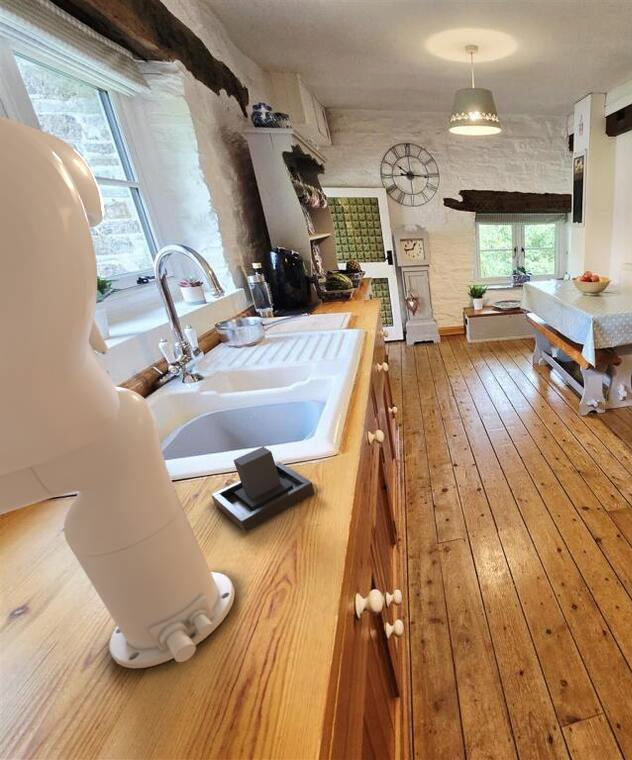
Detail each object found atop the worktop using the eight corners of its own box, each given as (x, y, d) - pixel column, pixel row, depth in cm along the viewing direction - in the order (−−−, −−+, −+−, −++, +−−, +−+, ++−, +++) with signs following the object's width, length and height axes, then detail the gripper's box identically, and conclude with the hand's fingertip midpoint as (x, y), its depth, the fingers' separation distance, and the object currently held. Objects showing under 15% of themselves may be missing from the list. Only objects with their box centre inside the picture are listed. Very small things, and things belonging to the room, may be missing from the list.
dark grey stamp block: (294, 490, 74) (282, 452, 71) (254, 512, 69) (239, 472, 66) (275, 477, 78) (263, 440, 75) (235, 497, 73) (221, 459, 70)
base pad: (314, 492, 75) (311, 482, 74) (245, 532, 66) (241, 521, 65) (281, 471, 82) (278, 461, 81) (214, 504, 73) (210, 494, 72)
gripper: (92, 272, 50) (145, 397, 57) (66, 265, 60) (114, 372, 67) (1, 282, 45) (72, 419, 52) (-12, 272, 55) (49, 388, 61)
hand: (95, 393), depth 59 cm, fingers open, 9 cm apart
